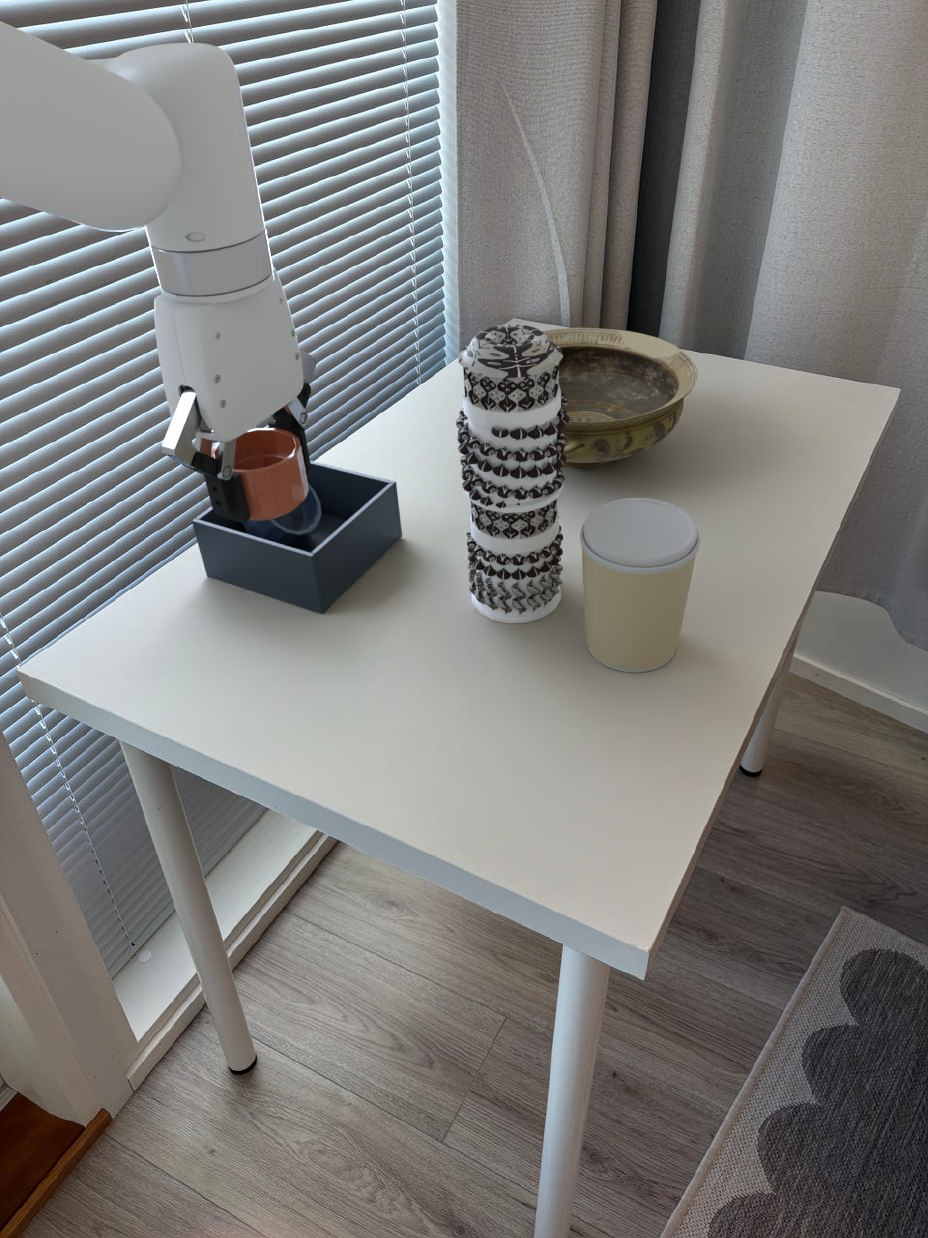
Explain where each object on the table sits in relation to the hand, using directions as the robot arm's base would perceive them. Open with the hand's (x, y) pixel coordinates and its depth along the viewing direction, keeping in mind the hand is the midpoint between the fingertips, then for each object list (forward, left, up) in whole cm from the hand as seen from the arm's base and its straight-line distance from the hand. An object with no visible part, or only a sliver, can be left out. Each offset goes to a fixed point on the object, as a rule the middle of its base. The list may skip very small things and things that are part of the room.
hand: (264, 491), depth 74 cm
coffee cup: (+28, -10, -16) cm, 33 cm away
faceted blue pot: (0, +17, -13) cm, 22 cm away
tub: (+3, +14, -16) cm, 21 cm away
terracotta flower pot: (0, 0, -1) cm, 1 cm away
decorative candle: (+21, 0, -16) cm, 26 cm away
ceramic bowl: (+37, +23, -16) cm, 46 cm away
